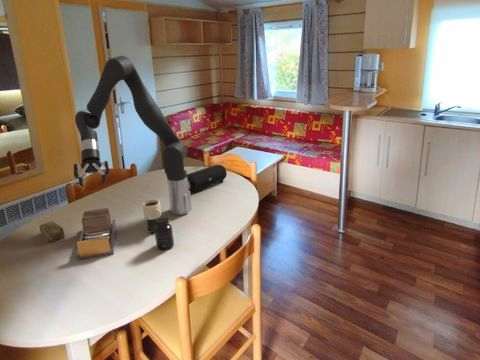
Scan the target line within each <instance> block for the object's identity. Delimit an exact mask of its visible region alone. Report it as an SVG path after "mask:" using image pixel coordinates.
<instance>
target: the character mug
mask: <svg viewBox="0 0 480 360" xmlns="http://www.w3.org/2000/svg"><path fill="white" fill-rule="evenodd" d="M142 209H143V215H144V219H146V220H147V223H146V224H147V225H146V229H147V231H148V233H155V232H154V228H155V226H156V219H158V218H160V217H162V211H161V202H160V200H158V199H154V198H153V199H152V198H151V199H148V200H145V201H144V202H143V203H142Z"/></svg>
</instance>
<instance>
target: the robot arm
mask: <svg viewBox="0 0 480 360" xmlns="http://www.w3.org/2000/svg"><path fill="white" fill-rule="evenodd" d="M101 72H102V74H101V76H100V79H99V81H98V83H97V86H96V88H95V90H94V92H93V94H92V96H91V97H90V98H89V101H88V103H87V104H86V109H87V111H88V112H87V111H84V110H80V111H77V112H76V114H75V116H74V117H75V118H74V121H75V125H76V128H77V130H78V133H79V136H80V157H81V158H80V159H81V162H80V164H77V163H74V164H73V177H74V178H75V179H78V184H79V186H80V187H81V188H84V178H85V176H86V175H87V174H96V173H98V174H100V176H101V183H102V186H104V185H105V184H107V183H106V182H107V179H106V176H110V175H111V174H110V168H109V163H108V160H105V161H103V162H101V156H100V154H101V153H100V146H99V141H98V133H97V131H96V130H95V129H98V128H99V127H100V123H101V119H102V116H103V112H104V110H106V107H108V104H109V102H110V99H111V94H112V91H113V89H114V87H115V86H116V85H117V84H118V83H119V82H120V81H124V83H125V84H126V86H127V87H128V89H129V91H130V93H131V96H132V102H133V106H134V110H135V112H136V114H137V115H138V117H139V118H140V120H141V121H142V123H143V125H145V126H146V127H147V128H148V129H149V130H150V131H151V132H152V133H154V134H156V136H157V137H158V138H159V139H160V141H161V142H162V143H163V145H164V147H165V148H164V149H163V151H162V162H163V170H164V174H165V175H166V181H167V189H168V191H167V192H168V198H169V207H170V209H169V210H170V213H171V214H173V215H176V216H179V215H180V216H181V215H188V214H189V213H190V211H191V210H192V199H191V197H192V196H191V192H190V191H188V181H187V174H188V173H187V170H186V169H185V166H184V165H185V164H184V160H185V158H186V157H187V154H188V151H187V147H186V146H185V144H184V143H183V141H182V140H181V139H180V138H179V137H178V135H177V134H176V132H175V131H174V129H172V126H171V125H170V124H169V122H168V120H167V119H166V116H165V115H164V114H163V112H162V110H161V109H160V107H159V106H158V104H157V102H156V101H155V99H154V98H153V97H152V95H151V93H150V92H149V90H148V88H147V86H146V85H145V83H144V82H143V80H142V78H141V76H140V74H139V72H138V70H137V68H136V66H135V65H134V63H133V61H132V60H131V59H130V58H129V57H127V56H125V55H120V56H115V57H111V58H109V59H107V61H106V63H105V64H104V66H103V69H102V71H101ZM102 166H103V167H104V168H105V172H104V171H103V170H102V168H101V167H102ZM80 169H82V170H81V171H80V173H79V170H80Z"/></svg>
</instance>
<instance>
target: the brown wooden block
mask: <svg viewBox="0 0 480 360" xmlns="http://www.w3.org/2000/svg"><path fill="white" fill-rule="evenodd" d="M111 223H112V220H111V213H110V209H109V208H108V207H104V208H98V209H91V210H85V211H84V212H83V215H82V218H81V225H82V229H83V230H84V234H86V233H93V232H99V231H105V230H110V226H111Z"/></svg>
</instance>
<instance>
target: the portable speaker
mask: <svg viewBox="0 0 480 360" xmlns="http://www.w3.org/2000/svg"><path fill="white" fill-rule="evenodd" d="M227 173H228V172H227V170H226V168H225V167H224V165H222V164H215V165H211V166H209V167H205V168H202V169H199V170H195V171H193V172H190V173H187V181H188V191H190V193H194V192H196V191H199V190H201V189H204V188H206V187H209V186H213V185H215V184H218V183H220V182H222V181H224V180H225V179H226V177H227Z"/></svg>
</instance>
